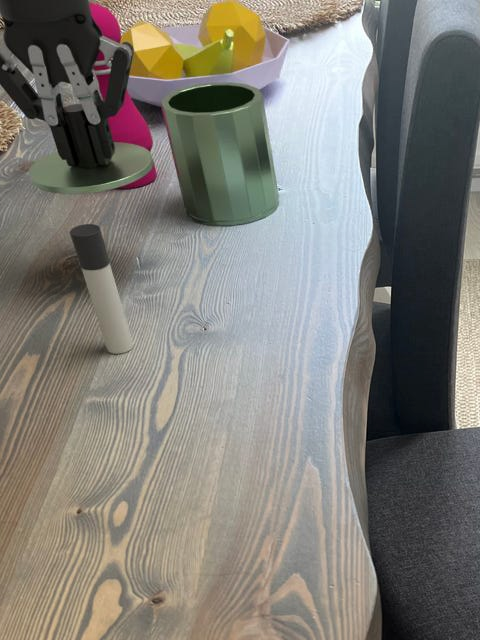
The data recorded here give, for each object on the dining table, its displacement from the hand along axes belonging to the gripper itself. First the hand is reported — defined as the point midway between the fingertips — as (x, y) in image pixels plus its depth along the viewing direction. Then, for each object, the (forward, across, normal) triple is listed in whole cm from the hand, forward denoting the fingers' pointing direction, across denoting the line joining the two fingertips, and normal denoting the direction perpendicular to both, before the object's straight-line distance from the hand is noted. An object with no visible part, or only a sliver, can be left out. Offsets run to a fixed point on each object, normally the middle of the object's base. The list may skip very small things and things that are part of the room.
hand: (90, 162), depth 97 cm
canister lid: (+1, 0, 0) cm, 1 cm away
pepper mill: (+11, +5, -25) cm, 28 cm away
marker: (+11, -4, +16) cm, 20 cm away
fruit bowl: (+11, +2, -55) cm, 56 cm away
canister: (+11, -9, -16) cm, 21 cm away
